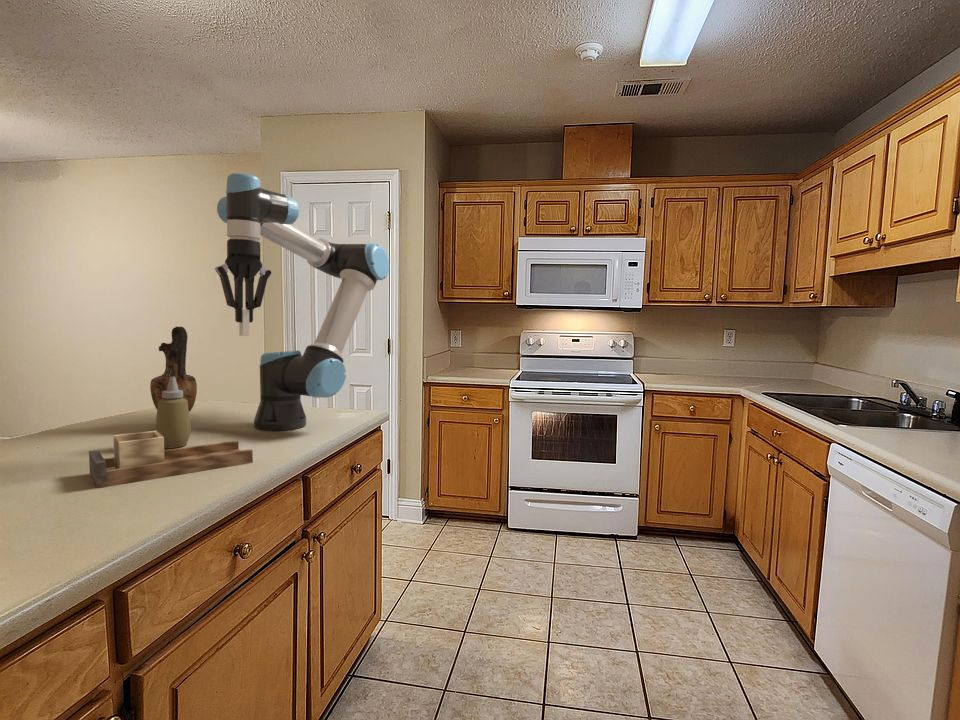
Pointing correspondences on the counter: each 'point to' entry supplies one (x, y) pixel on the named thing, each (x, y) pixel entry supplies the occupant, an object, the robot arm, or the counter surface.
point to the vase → (175, 369)
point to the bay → (169, 463)
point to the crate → (138, 449)
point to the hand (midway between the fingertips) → (244, 335)
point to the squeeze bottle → (173, 417)
